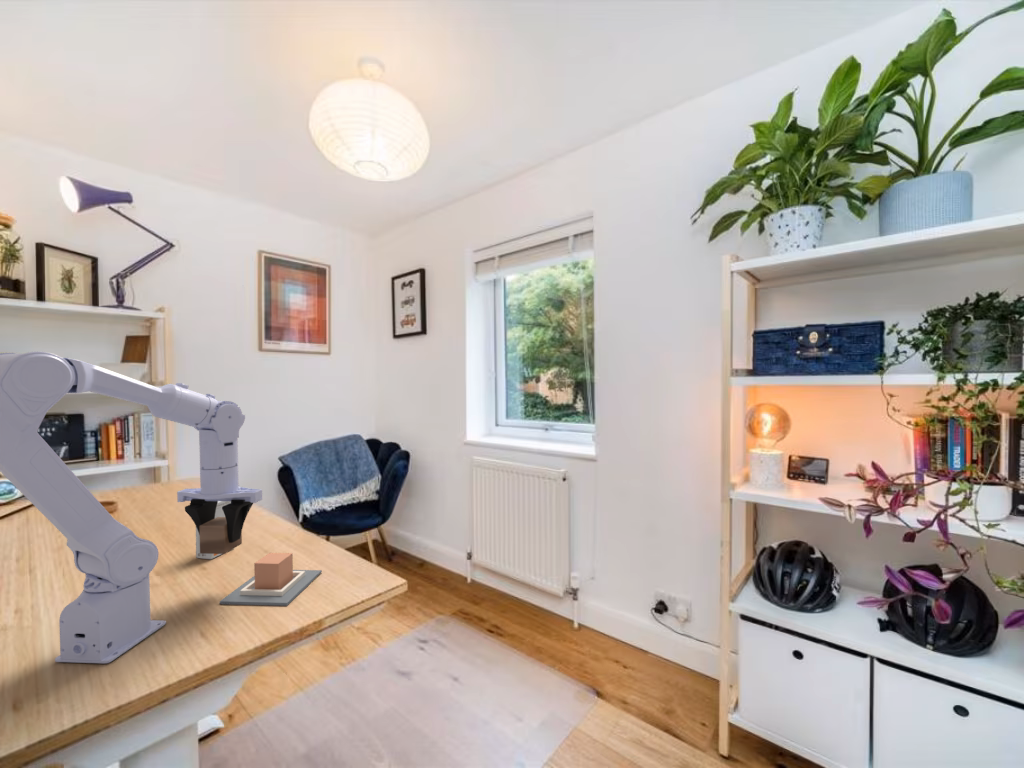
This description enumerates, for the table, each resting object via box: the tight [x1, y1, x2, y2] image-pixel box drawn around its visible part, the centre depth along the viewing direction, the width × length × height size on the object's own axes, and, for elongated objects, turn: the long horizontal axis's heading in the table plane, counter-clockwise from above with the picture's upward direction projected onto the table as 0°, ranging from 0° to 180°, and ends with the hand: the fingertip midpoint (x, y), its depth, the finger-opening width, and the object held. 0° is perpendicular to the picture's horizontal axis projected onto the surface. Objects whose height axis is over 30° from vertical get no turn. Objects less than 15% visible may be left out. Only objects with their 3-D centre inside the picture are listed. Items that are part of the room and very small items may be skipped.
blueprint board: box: [219, 569, 323, 607], centre depth 79 cm, size 12×12×1 cm
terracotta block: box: [253, 552, 294, 590], centre depth 79 cm, size 4×4×5 cm
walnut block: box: [199, 517, 243, 555], centre depth 78 cm, size 4×4×5 cm
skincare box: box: [195, 501, 231, 560], centre depth 94 cm, size 6×4×12 cm
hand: (221, 540), depth 78 cm, fingers closed on walnut block, 4 cm apart
